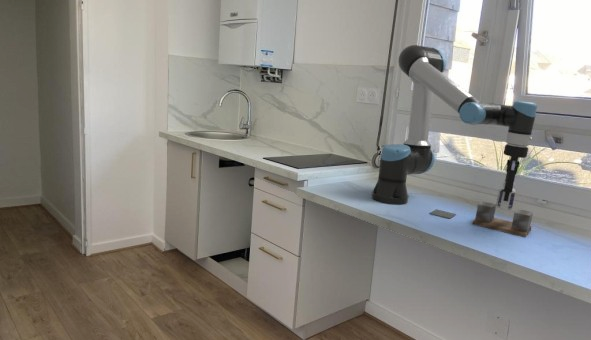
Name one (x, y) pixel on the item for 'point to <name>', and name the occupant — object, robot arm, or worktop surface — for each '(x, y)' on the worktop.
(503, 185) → the pill bottle
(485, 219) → the board with two blocks
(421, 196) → the worktop surface
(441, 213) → the pad
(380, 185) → the robot arm
